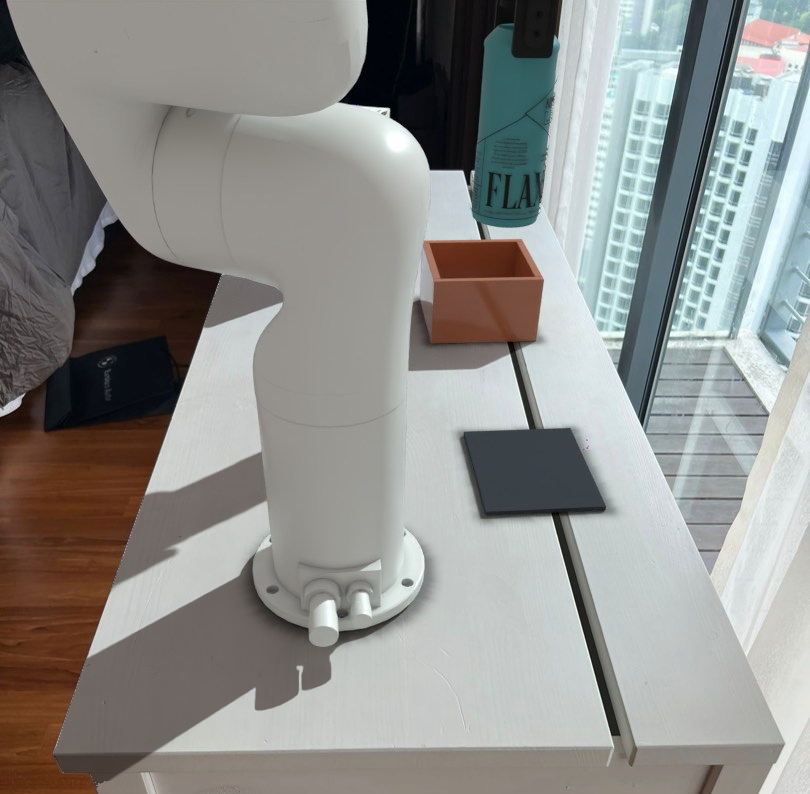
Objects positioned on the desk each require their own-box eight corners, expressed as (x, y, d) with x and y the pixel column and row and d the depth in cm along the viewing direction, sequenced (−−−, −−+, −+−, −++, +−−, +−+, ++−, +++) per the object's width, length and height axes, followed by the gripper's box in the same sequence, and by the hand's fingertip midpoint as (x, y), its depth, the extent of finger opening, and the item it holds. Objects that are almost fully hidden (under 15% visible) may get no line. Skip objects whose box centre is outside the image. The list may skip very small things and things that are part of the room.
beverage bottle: (471, 245, 75) (492, -22, 63) (464, 220, 81) (482, -31, 68) (543, 246, 76) (578, -19, 63) (531, 221, 81) (561, -28, 68)
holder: (536, 341, 92) (544, 279, 87) (431, 343, 91) (433, 281, 86) (515, 296, 101) (521, 238, 96) (419, 298, 100) (421, 240, 95)
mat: (605, 510, 69) (606, 506, 69) (485, 515, 68) (485, 511, 68) (569, 431, 78) (570, 427, 78) (463, 435, 77) (463, 431, 77)
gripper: (475, -240, 64) (459, 32, 75) (524, -267, 51) (496, 69, 62) (571, -235, 65) (541, 33, 76) (645, -260, 51) (595, 70, 63)
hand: (521, 47), depth 69 cm, fingers closed on beverage bottle, 6 cm apart
